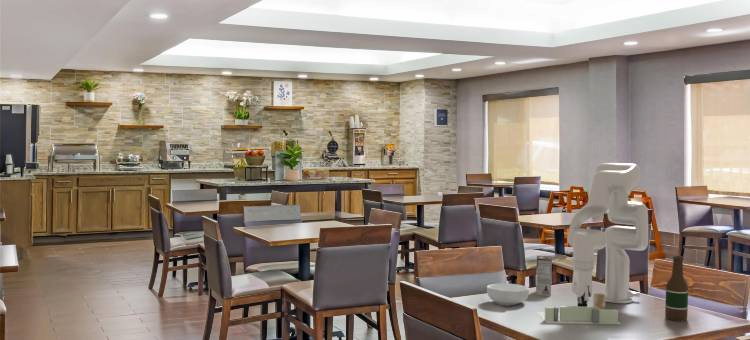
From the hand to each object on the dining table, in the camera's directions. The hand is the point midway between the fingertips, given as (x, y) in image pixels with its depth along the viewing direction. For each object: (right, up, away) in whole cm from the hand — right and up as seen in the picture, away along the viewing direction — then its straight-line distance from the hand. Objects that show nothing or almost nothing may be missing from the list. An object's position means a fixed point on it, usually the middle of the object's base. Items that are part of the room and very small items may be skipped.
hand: (582, 313), depth 264 cm
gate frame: (-1, -3, +2) cm, 3 cm away
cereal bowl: (-23, -1, +26) cm, 35 cm away
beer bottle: (+37, -3, +5) cm, 38 cm away
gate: (-2, -2, -3) cm, 4 cm away
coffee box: (-4, -1, +46) cm, 46 cm away
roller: (+8, -2, +6) cm, 10 cm away
